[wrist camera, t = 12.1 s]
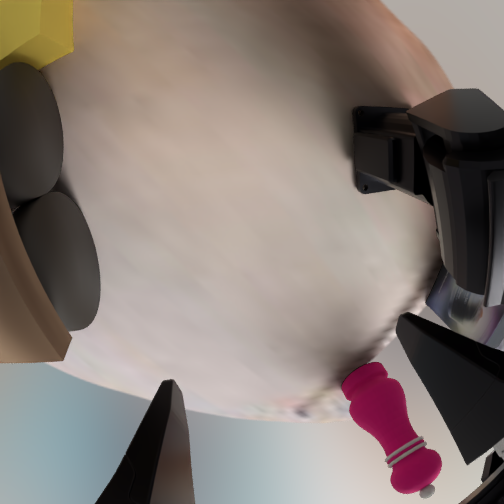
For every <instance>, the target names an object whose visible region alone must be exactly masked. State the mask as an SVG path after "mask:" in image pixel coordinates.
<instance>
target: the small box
mask: <svg viewBox="0 0 504 504" xmlns="http://www.w3.org/2000/svg"><path fill="white" fill-rule="evenodd" d="M483 301H484V295H478V294H475V293H472V292H469V291H466V290H464V289H463V288H461V287H459V286H458V285H457V284H456V283H455V279H454V278H453V277H452V276H451V274H450V273H449V272H448V270H447V269H446V268H445V265H444V263H443V266H442V268H441V270H440V273H439V275H438V278H437V280H436V282H435V284H434V286H433V289H432V291H431V293H430V295H429V297H428V299H427V301H426V305H427V306H429V307H430V308H431V309H432V310H433V311H434V312H435V313H436V314H437V315H438V316H439V317H440V318H441V319H442V320H443V321H444V323H445V324H446V325H447V326H448V327H449V328H450V329H451V330H452V331H454V332H456V333H459V334H461V335H463V336H466V337H468V338H470V339H473V340H475V342H476V341H477V342H480V343H482V344H484V345H487V346H489V347H492V348H497V347H498V346H499V344H500V343H501V341H502V340H503V338H504V304H500V305H496V306H492V307H487V308H486V307H484V306H483Z"/></svg>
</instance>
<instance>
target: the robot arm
mask: <svg viewBox="0 0 504 504" xmlns="http://www.w3.org/2000/svg"><path fill="white" fill-rule="evenodd" d="M359 110H360V111H361V115H359V114H358V111H359ZM352 114H353V124H354V136H353V138H354V153H355V168H356V170H357V189H358V191H359V192H361V193H363V194H369V193H375V192H382V191H388V190H395V189H397V190H399V191H401V192H404V193H406V194H408V195H410V196H412V197H415V198H417V199H419V200H421V201H423V202H425V203H427V204H429V205H431V206H433V207H434V212H435V218H436V224H437V229H436V233H437V238H438V239H439V241H440V247H441V256H442V259H443V262H444V265H445V268H446V269H447V270H448V272H449V273H450V274H451V276H452V277H453V278H454V279H455V283H456V284H457V285H458V286H459V287H461V288H463V289H464V290H466V291H469V292H472V293H475V294H478V295H484V301H483V306H484V307H486V308H487V307H492V306H496V305H500V304H504V110H503V109H501V108H500V107H499V106H498V105H497V104H496V103H495V102H494V101H492V100H491V99H490V98H489V97H488V96H486V95H485V94H484V93H483V92H482V91H480V90H479V89H450V90H447V91H445V92H443V93H441V94H439V95H437V96H435V97H433V98H431V99H429V100H427V101H425V102H423V103H421V104H419V105H417V106H415V107H413V108H411V109H405V108H392V107H371V106H357V107H355V108H354V109H353V112H352ZM364 185H365V188H364V189H363V186H364ZM396 334H397V336H398V338H399V340H400V342H401V344H402V346H403V348H404V350H405V352H406V354H407V357H408V358H409V360H410V362H411V364H412V366H413V367H414V369H415V370H416V372H417V374H418V376H419V377H420V379H421V381H422V382H423V384H424V385H425V387H426V389H427V391H428V392H429V394H430V396H431V397H432V399H433V401H434V403H435V405H436V406H437V408H438V410H439V412H440V414H441V415H442V417H443V419H444V421H445V423H446V425H447V427H448V429H449V430H450V432H451V435H452V436H453V438H454V440H455V442H456V444H457V446H458V448H459V450H460V452H461V455H462V457H463V458H464V461H465V463H466V464H467V465H469V464H470V463H471V462H473V461H474V460H476V459H477V458H478V457H480V456H481V455H483V454H484V453H485V452H487V451H488V450H489V449H491V448H492V447H494V450H493V451H492V452H491V453H490V455H488V456H487V457H486V461H485V465H484V470H483V474H482V478H481V480H482V482H483V483H482V484H481V485H480V486H479V487H478V488H477V489H476V490H475V491H473V492H472V493H471V494H470V495H469V496H468V497H466V498H465V499H464V500H463V501H461V502H460V503H459V504H504V351H501V350H498V349H495V348H492V347H489V346H487V345H484V344H482V343H480V342H477V341H476V342H475V340H473V339H470V338H468V337H466V336H463V335H461V334H459V333H456V332H454V331H452V330H449V329H447V328H445V327H443V326H440V325H438V324H435V323H433V322H431V321H429V320H426V319H424V318H421V317H419V316H417V315H415V314H412V313H410V312H406V313H403V314H401V315H400V316H399V318H398V322H397V326H396ZM95 504H195V498H194V488H193V479H192V469H191V456H190V442H189V430H188V424H187V419H186V413H185V407H184V401H183V395H182V392H181V390H180V388H179V387H178V385H177V384H176V382H175V380H173V379H170V380H164V381H163V382H162V383H161V385H160V387H159V389H158V391H157V393H156V394H155V396H154V398H153V400H152V402H151V404H150V406H149V408H148V410H147V412H146V414H145V416H144V418H143V420H142V422H141V423H140V425H139V428H138V430H137V431H136V434H135V435H134V437H133V439H132V441H131V443H130V445H129V447H128V449H127V451H126V455H124V457H123V459H122V461H121V463H120V465H119V467H118V468H117V470H116V472H115V474H114V475H113V477H112V479H111V480H110V482H109V483H108V485H107V486H106V488H105V489H104V491H103V492H102V494H101V495H100V497H99V498H98V500H97V501H96V503H95Z"/></svg>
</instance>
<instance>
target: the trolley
mask: <svg viewBox="0 0 504 504" xmlns="http://www.w3.org/2000/svg"><path fill="white" fill-rule="evenodd" d="M62 161H63V131H62V124H61V119H60V114H59V110H58V107H57V103H56V101H55V98H54V95H53V93H52V91H51V89H50V87H49V85H48V83H47V81H46V80H45V78H44V77H43V76H42V74H41V73H40V72H39V71H38V70H37V69H35V68H34V67H33V66H31V65H29V64H27V63H23V62H15V63H11V64H9V65H7V66H5V67H4V68H3V69H1V70H0V363H36V362H55V361H63V360H64V358H65V355H66V352H67V350H68V347H69V344H70V342H71V340H72V337H71V335H70V334H69V331H76V330H81V329H84V328H86V327H88V326H89V325H90V324H91V323H92V321H93V320H94V318H95V316H96V314H97V310H98V307H99V301H100V271H99V264H98V258H97V253H96V249H95V245H94V241H93V238H92V235H91V232H90V230H89V227H88V225H87V223H86V220H85V218H84V217H83V215H82V213H81V211H80V210H79V208H78V207H77V205H76V204H75V203H74V202H73V201H72V200H71V199H70V198H69V197H68V196H66V195H65V194H63V193H60V192H49V191H50V190H51V189H52V188H53V187H54V185H55V184H56V182H57V180H58V177H59V174H60V171H61V167H62ZM48 192H49V193H48ZM46 193H47V194H46ZM18 206H20V207H18ZM16 207H18V208H17V209H16V211H15V212H14V213H13V214H12V213H11V210H10V208H16Z"/></svg>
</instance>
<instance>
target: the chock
mask: <svg viewBox="0 0 504 504" xmlns="http://www.w3.org/2000/svg"><path fill="white" fill-rule="evenodd" d="M73 51H74V44H73V0H0V70H1V69H3V68H4V67H5V66H7V65H9V64H11V63H15V62H23V63H27V64H29V65H31V66H33V67H34V68H35V69H37V70H39V69H41V68H43V67H44V66H46V65H48V64H50V63H52V62H53V61H55V60H57V59H59V58H61V57H63V56H65V55H67V54H69V53H71V52H73Z"/></svg>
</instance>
